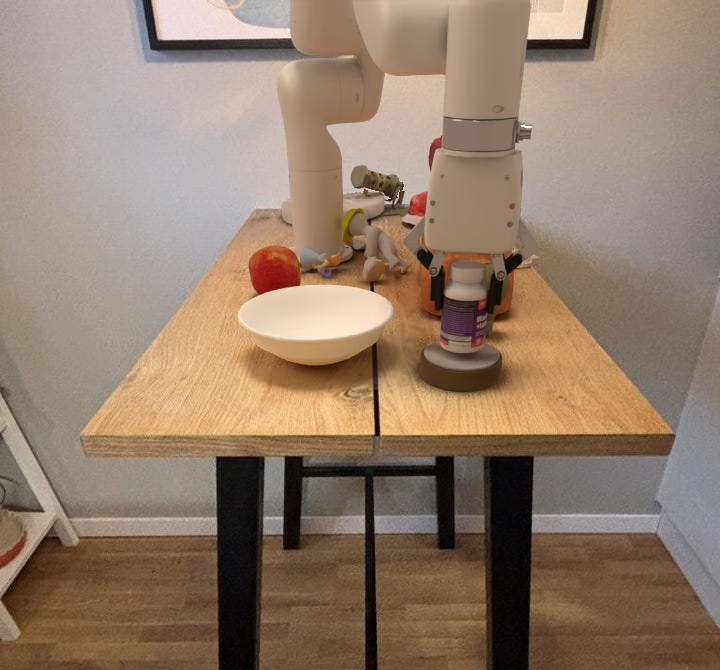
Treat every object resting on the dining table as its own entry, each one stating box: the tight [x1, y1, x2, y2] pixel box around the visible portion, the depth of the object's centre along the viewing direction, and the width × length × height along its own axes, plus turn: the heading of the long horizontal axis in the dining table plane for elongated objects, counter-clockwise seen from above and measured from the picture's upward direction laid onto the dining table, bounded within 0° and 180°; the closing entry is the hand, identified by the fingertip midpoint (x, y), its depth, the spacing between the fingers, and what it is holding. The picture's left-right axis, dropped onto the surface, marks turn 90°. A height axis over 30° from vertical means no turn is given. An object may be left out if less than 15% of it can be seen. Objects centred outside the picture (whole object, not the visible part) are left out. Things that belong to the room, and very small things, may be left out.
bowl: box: [237, 284, 395, 366], centre depth 85 cm, size 20×20×6 cm
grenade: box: [349, 164, 406, 209], centre depth 153 cm, size 7×7×15 cm
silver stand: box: [419, 339, 504, 392], centre depth 81 cm, size 10×10×3 cm
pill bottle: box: [439, 261, 489, 353], centre depth 77 cm, size 5×5×10 cm
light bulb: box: [482, 262, 509, 337], centre depth 89 cm, size 6×6×10 cm
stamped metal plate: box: [512, 248, 541, 269], centre depth 120 cm, size 8×7×2 cm
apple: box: [247, 245, 302, 295], centre depth 103 cm, size 8×8×8 cm
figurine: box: [342, 208, 412, 283], centre depth 115 cm, size 10×9×15 cm
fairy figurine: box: [298, 246, 343, 279], centre depth 116 cm, size 12×5×12 cm
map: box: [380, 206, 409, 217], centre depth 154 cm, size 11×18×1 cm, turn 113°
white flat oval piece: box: [280, 192, 385, 225], centre depth 152 cm, size 22×28×3 cm
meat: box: [401, 135, 442, 226], centre depth 140 cm, size 23×24×25 cm
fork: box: [351, 237, 367, 251], centre depth 131 cm, size 3×21×3 cm, turn 24°
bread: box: [419, 234, 515, 317], centre depth 102 cm, size 14×26×16 cm, turn 176°
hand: (464, 307), depth 77 cm, fingers closed on pill bottle, 5 cm apart
